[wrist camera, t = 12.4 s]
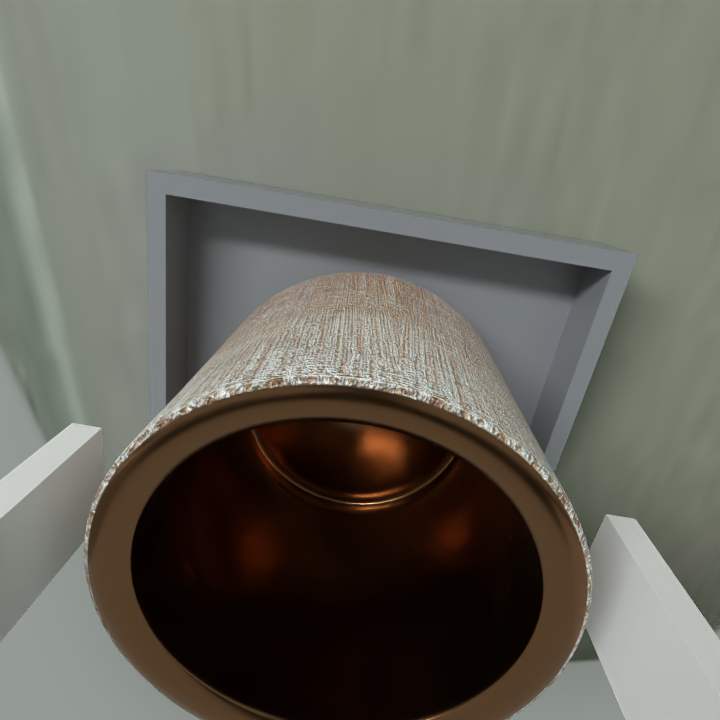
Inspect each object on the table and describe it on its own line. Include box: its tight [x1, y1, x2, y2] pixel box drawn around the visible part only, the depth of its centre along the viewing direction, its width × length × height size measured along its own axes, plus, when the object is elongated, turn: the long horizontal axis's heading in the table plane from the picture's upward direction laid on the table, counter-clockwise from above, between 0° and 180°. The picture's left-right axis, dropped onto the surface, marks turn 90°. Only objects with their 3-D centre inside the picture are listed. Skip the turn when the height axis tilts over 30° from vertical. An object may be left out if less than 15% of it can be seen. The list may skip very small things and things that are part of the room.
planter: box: [84, 272, 593, 720], centre depth 14 cm, size 11×11×10 cm
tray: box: [146, 170, 638, 473], centre depth 18 cm, size 15×15×2 cm
